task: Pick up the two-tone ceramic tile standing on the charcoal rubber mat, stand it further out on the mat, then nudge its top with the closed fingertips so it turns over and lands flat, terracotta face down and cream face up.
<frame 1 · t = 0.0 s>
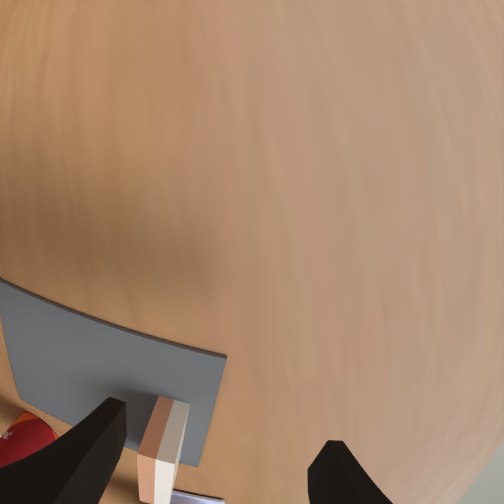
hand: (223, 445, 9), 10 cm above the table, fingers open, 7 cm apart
paper cup: (41, 429, 23), on the table
mat: (93, 386, 20), on the table
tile: (170, 430, 21), resting on mat
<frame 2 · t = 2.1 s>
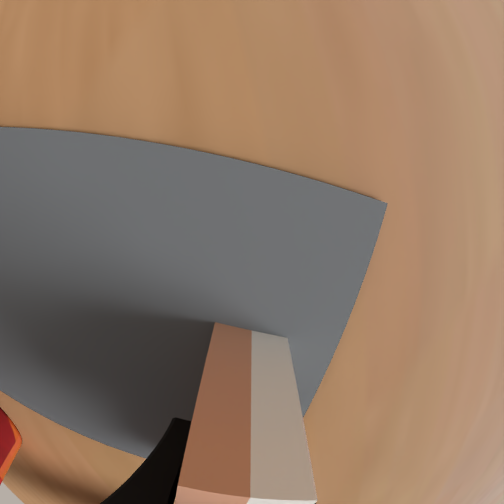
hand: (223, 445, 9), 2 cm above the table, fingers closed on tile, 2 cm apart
mat: (66, 319, 10), on the table
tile: (226, 413, 10), resting on mat, touching gripper
when the fingers open (3 cm above the table, at t = 4.6 s): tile moves 2 cm and tips over, resting on mat.
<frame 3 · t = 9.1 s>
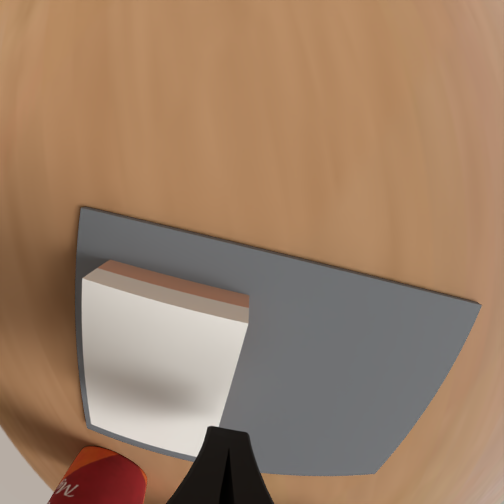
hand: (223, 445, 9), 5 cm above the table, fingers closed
paper cup: (114, 466, 16), on the table
mat: (268, 392, 14), on the table
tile: (226, 388, 12), point 2 cm above the table, tilted 90°, touching mat
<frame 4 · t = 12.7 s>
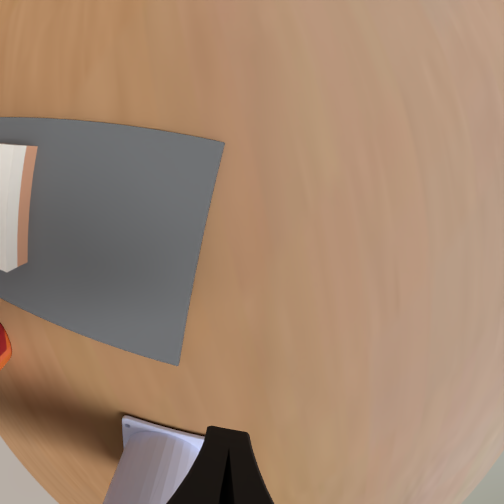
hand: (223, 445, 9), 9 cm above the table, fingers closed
mat: (54, 228, 16), on the table
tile: (18, 208, 14), point 2 cm above the table, tilted 90°, touching mat
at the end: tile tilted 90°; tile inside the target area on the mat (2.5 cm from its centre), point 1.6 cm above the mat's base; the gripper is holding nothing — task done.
